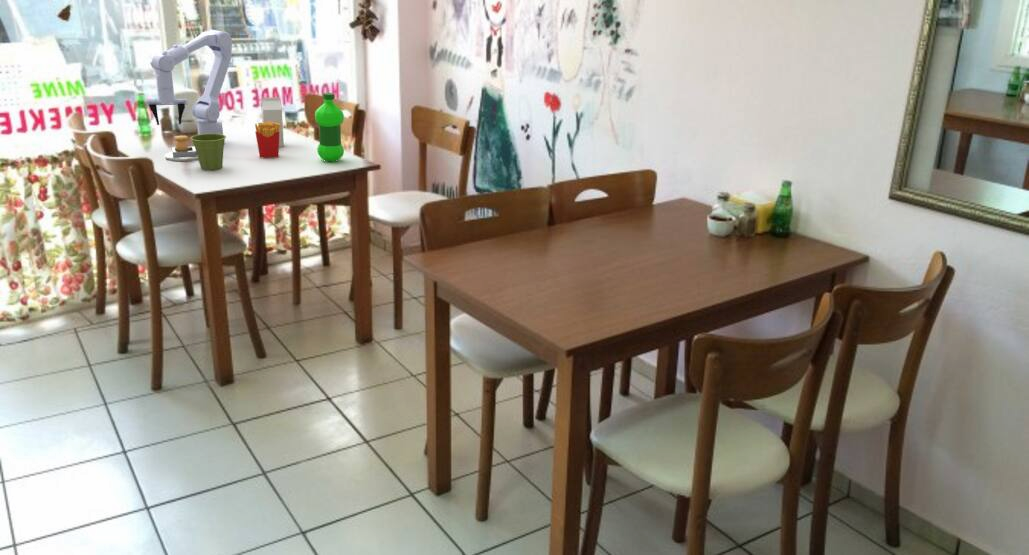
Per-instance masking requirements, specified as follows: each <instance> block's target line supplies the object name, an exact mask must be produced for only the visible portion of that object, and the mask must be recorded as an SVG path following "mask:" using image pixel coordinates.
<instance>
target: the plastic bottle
mask: <svg viewBox="0 0 1029 555" xmlns="http://www.w3.org/2000/svg"><path fill="white" fill-rule="evenodd" d="M335 98H336V97H335V93H334V92H323V93H322V99H323V100H324V103H323V104H321V105H320V106H319V107H318V108H317V109H316V110H315V112H314V118H315V122H316V123H317V124H318V134H319V135H318V136H319V143H318V146H317V148H316V149H317V155H318V156H319V157H320V159H322V160H323V161H324V160H325V161H336V160H338V161H340V159H342V157H343V156H344V155H345V154H344V153H345V150H344V147H343V145H342V132H341V131H342V129H341V125H342V124H343V123H344V120H345V116H344V112H343V110H342V109H340V108H339V106H337V105H336V104H335V103H334V100H336V99H335ZM325 161H324V162H325Z"/></svg>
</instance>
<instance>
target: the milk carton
mask: <svg viewBox="0 0 1029 555" xmlns="http://www.w3.org/2000/svg"><path fill="white" fill-rule="evenodd" d="M260 98H261V103H260V108H261V110H260V112H261V123H267V122H272V124H273V122H276V123H280V125H281V126H280V130H279V132H280V133H279V148H282V147H283V146H284V147H285V142H284V140H285V139H284V127H283V125H284V124H283V108H282V102H281V97H260ZM284 147H283V148H284Z"/></svg>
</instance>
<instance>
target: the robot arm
mask: <svg viewBox="0 0 1029 555" xmlns="http://www.w3.org/2000/svg"><path fill="white" fill-rule="evenodd" d="M233 43H234V41H233V39H232V36H231V35H230V33H228V32H227V31H221V30H215V29H210V28H209V29H207V30H206V31H203V32H200V34H199V35H198V36H196V37H194V38H193V39H192V40H190V41H188V42H186V44H183V45H181V44H173V45H172V48H169V49H168V50H163V51H162V54H159V53H158V54H155V55H153V57H152V58H151V62H150V66H151V67H152V69H153V70H154V74H155V82H156V83H155V84H156V92H157V98H155V99H154V98H153V99H145V107H149V109H150V111H151V113H152V114H153V117H154V119H155V122H156V126H160V120H159V116H158V108H157V106H177V113H178V125H182V117H183V113H184V111H185V108H186V106H188V105H189V102H188V99H187V98H175V91H174V89H175V88H174V81H173V80H174V78H173V73H172V72H173V70H174V68H175V66H176V65H179V64H180V63H182V62H184V61H185V60H188V58H189V54H191V53H193V52H195V51H197V50H199V49H201V48H204V47H206V46H207V47H208V48H209V49H210V50H211V51H212V53H213V54H214V56H215V58H214V62H213V65H212V66H211V71H210V73H209V76H208V79H207V83H206V85H205V89H204V92H203V94H202V95H201V96H199V97H198V98H197V101H196V102H195V103H194V105H193V106H192V108H191V111H192V115H193V116H194V118H195V120H196V126H197V135H199V134H222V135H224V131H223V122H222V121H221V120H219V119H220V118H219V117H220V107H221V104H220V102H219V100H218V99H219V97H220V93H221V90H222V87H223V85H224V81H225V79H226V75H227V72H228V70H229V67H230V63H231V60H232V57H233V56H232V47H233V46H232V45H233Z"/></svg>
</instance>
